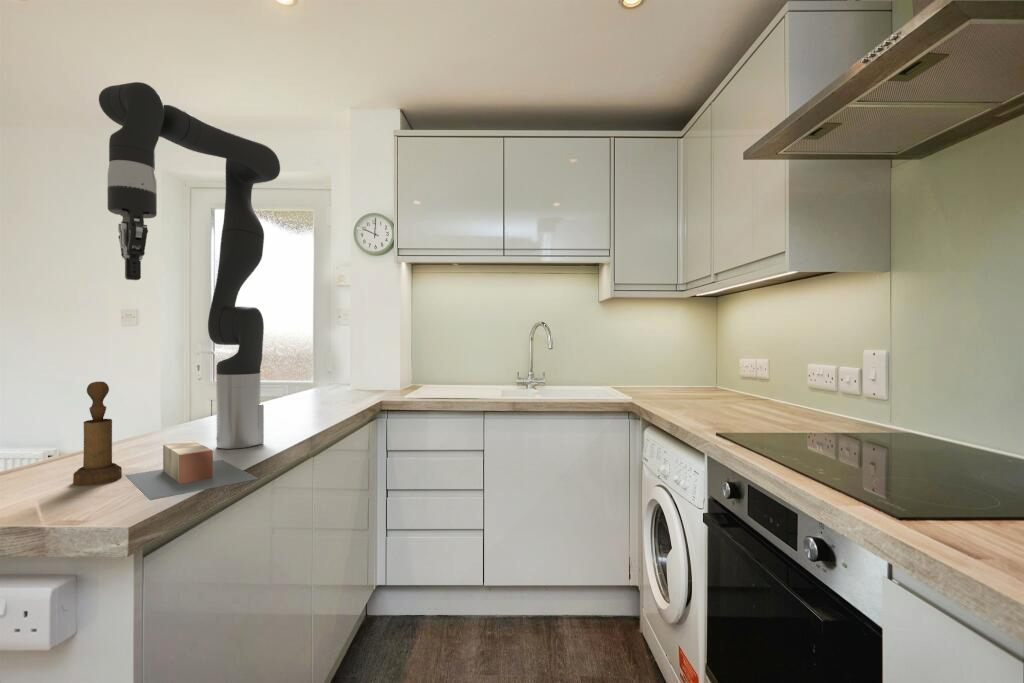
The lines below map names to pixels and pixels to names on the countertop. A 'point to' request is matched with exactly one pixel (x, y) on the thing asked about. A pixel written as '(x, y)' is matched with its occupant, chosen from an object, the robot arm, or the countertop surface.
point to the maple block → (187, 461)
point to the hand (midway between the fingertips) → (132, 279)
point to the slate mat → (165, 485)
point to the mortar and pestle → (97, 443)
